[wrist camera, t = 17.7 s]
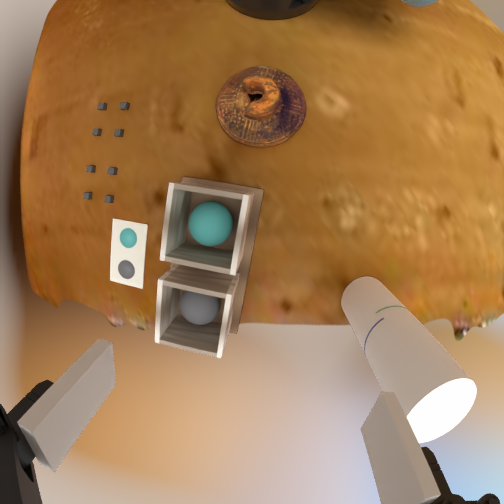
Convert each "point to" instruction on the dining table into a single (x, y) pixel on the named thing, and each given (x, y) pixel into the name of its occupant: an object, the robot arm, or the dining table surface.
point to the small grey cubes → (98, 133)
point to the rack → (205, 264)
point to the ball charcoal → (199, 307)
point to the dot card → (128, 252)
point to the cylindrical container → (408, 360)
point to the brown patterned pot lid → (261, 107)
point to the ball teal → (210, 223)
